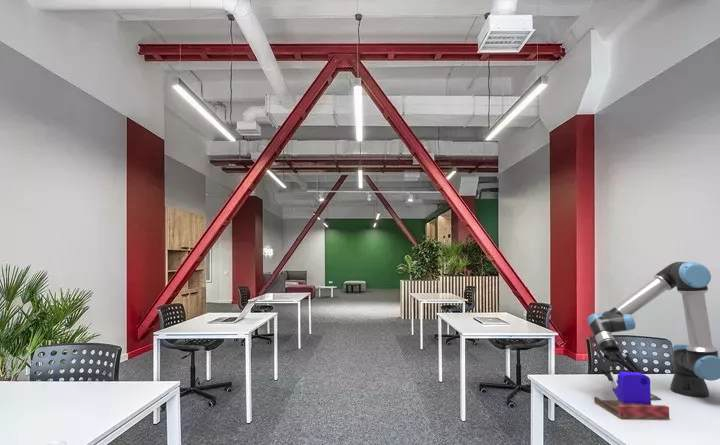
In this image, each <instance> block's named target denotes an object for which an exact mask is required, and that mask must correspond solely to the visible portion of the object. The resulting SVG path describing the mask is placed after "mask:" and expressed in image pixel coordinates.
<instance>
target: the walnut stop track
mask: <svg viewBox="0 0 720 445" xmlns="http://www.w3.org/2000/svg"><path fill="white" fill-rule="evenodd" d="M593 398H594V399H593V400H594V401H593V402H594V403H595V404H597V405H598V406H599V407H601V408H603V409H604V410H605V411H607V412H609V413H611V414H612V415H614V416H615V417H617V418H619V419H620V420H667V421H668V420H670V407H669V406H668V405H663V404H662V405H661V404H660V405H659V404H656V405H655V404H652V403H651V404H633V403H623V402H621V401H620V400H618V399H617V400H616V399H615V400H614V399H613V400H611V399H601V398H599V397H597V396H593Z"/></svg>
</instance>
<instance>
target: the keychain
mask: <svg viewBox="0 0 720 445" xmlns="http://www.w3.org/2000/svg"><path fill="white" fill-rule="evenodd" d="M657 400H658V401H660V400H662V398H661V397H659V396H657V395H655V394H652V393H651V401H657Z"/></svg>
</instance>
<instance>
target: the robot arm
mask: <svg viewBox="0 0 720 445" xmlns="http://www.w3.org/2000/svg"><path fill="white" fill-rule="evenodd" d="M711 279H712V275H711V272H710V270H709V268H708V267H707V266H705V265H704V264H702V263H700V262H697V261H696V262H695V261H676V262H675V261H674V262H673V263H670V264H668V265H667V266H665V267H664V268H663V269H661V270H660V271H658V272H657V273H656V274H654V276H653V279H651V280H650V281H648V282H647V283H645V284H644V285H643V286H641V287H640V288H639V289H638V290H636V291H635V292H633V293H632V294H630V295H629V296H628V297H626V298H624V300H622V301H621V302H619V303H618V304H617V305H615V306H614V307H613V308H611V309H610V310H605V311H603V312H602V313H592V314H590V315H589V316H588V317H587V323H588V327H589V329H590V330H591V332H592V334H593V336H594V338H595V341H596V343H597V344H598V346H599V347H598V348H599V349H600V351H599V352H598V353H597V354H596V357H597V359H598V364H599V371H600V374H603V375H604V376H605V377H606V378H607V380H608V381H609V382H610V383H611V385H612V388H613V387H614V389H617V387H618V384H617V382H616V381H617V380H616V378H615V375H614V373H613V372H612V371H611V368H612V363H619V364H618V365H621V366H623V367H624V369H625V370H627V372H639V373H641V372H642V369H641V368H640V367H639V365H638V364H636V362H634V360H633V359H632V358H631V357H630V353H628V352H624V353H623V352H621V351H620V348H619V346H618V344H617V342H616V339H615V337H614V336H613V334H612V333H620V332H626V331H627V332H629V331H632V330H634V329H635V328H636V322H635V318H634V317H633V315H634V314H635V313H637V311H639V310H640V309H642V308H643V307H645V306H646V305H648V304H649V303H651V302H652V301H653V300H655V299H656V298H657V297H659V296H660V295H662V294H663V293H665V292H666V291H671V290H673V289H674V288H676V289H677V290H676V291H677V292H679V294H681V298H682V304H683V310H684V318H685V323H686V331H687V332H686V333H687V336H688V337H687V338H688V344H674V345H673V347H672V358H673V372H674V374H673V377H672V381H671V383H670V391H672V392H674V393H675V394H680V395H684V396H688V397H694V398H695V397H696V398H707V397H709V396H710V391H709V388H708V385H707V384H706V381H711V382H712V381H713V382H714V381H716V380H720V357H719V352H718V349H717V348H716V347H715V346H714V344H713V341H712V340H713V339H712V333H711V328H710V321H709V315H708V314H709V313H708V308H707V302H706V295H705V294H706V293H707V292H708V291H709V289H708V288H709V287H708V285H709V283H710V282H711ZM604 358H605V359H606V365H605V359H604Z"/></svg>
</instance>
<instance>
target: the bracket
mask: <svg viewBox="0 0 720 445" xmlns="http://www.w3.org/2000/svg"><path fill="white" fill-rule="evenodd" d="M616 382H617V384H618V387H617V389H614V387H613V386H612V392H613V393H614V396H615V397H616V398H617V400H620V401H621V402H623V403H633V404H652V400H651V394H652V392H651V391H652V390H651V378H650V377H649V376H648V375H645V374H644V373H641V372H640V373H639V372H629V371H620V372H618V374H617V380H616Z"/></svg>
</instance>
